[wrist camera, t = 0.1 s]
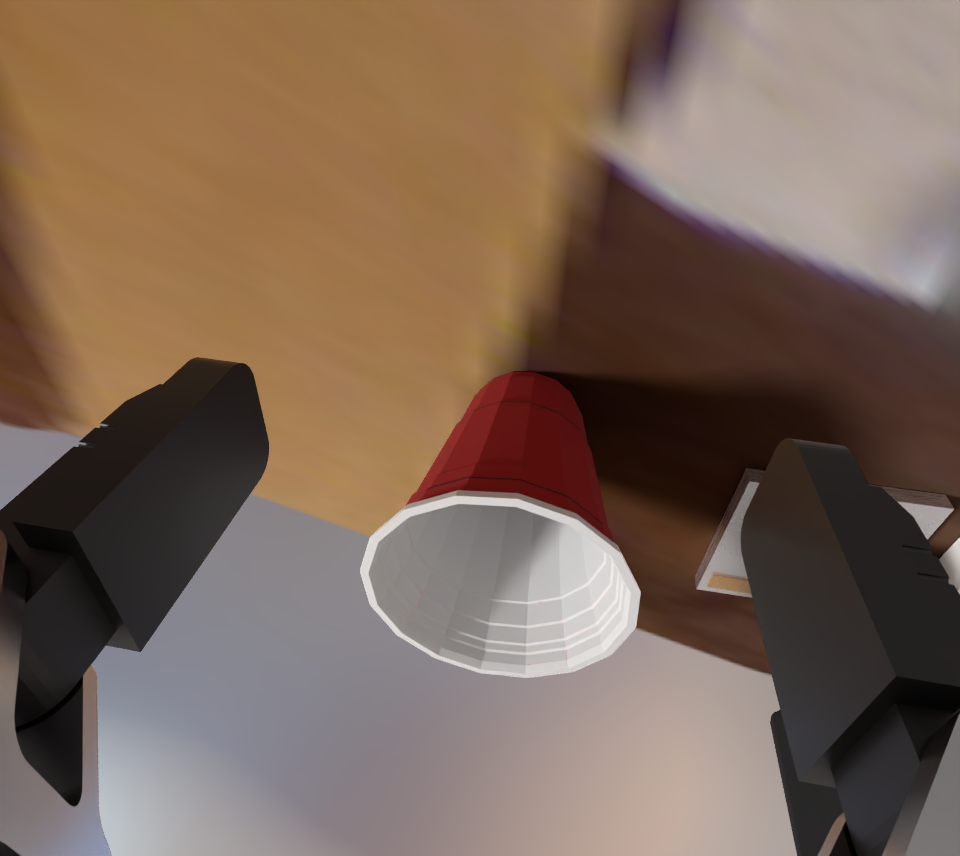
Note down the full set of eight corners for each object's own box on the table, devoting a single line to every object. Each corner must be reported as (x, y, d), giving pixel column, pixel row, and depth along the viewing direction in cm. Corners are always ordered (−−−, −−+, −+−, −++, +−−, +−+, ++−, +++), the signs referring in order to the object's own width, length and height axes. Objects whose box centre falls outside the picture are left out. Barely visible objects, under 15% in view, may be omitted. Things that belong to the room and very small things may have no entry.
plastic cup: (659, 344, 27) (685, 552, 18) (602, 496, 34) (601, 698, 25) (432, 303, 28) (349, 486, 19) (424, 462, 35) (361, 647, 26)
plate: (746, 467, 31) (750, 483, 30) (945, 494, 30) (955, 511, 29) (694, 575, 38) (696, 591, 37) (856, 600, 37) (862, 616, 36)
